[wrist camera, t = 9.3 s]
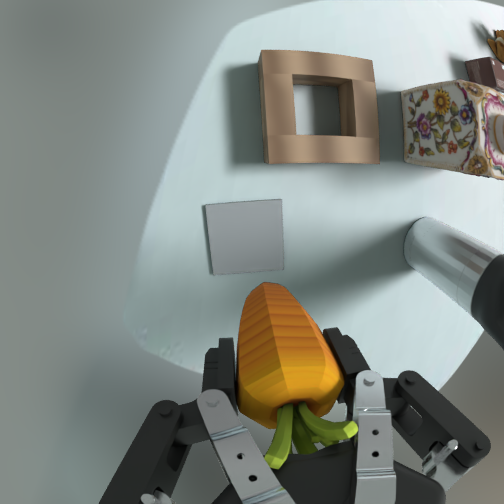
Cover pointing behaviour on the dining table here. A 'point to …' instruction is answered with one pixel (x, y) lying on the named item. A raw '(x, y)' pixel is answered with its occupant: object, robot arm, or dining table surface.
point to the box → (486, 72)
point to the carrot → (287, 374)
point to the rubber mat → (246, 236)
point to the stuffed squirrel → (498, 45)
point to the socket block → (350, 104)
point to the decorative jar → (455, 127)
